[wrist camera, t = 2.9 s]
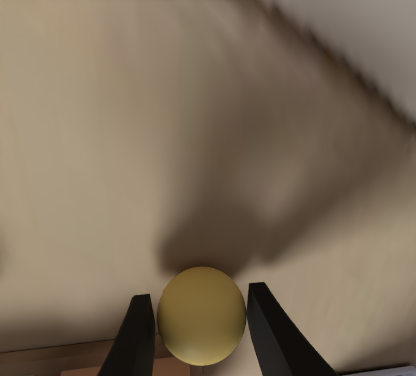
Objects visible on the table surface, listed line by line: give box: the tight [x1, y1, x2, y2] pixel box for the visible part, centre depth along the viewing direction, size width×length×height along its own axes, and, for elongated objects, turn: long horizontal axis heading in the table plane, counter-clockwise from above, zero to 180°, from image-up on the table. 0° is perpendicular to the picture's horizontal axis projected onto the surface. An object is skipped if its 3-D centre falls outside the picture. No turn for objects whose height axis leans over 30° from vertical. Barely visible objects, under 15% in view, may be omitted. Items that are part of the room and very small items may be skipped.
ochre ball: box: [157, 267, 246, 366], centre depth 11 cm, size 4×4×4 cm
